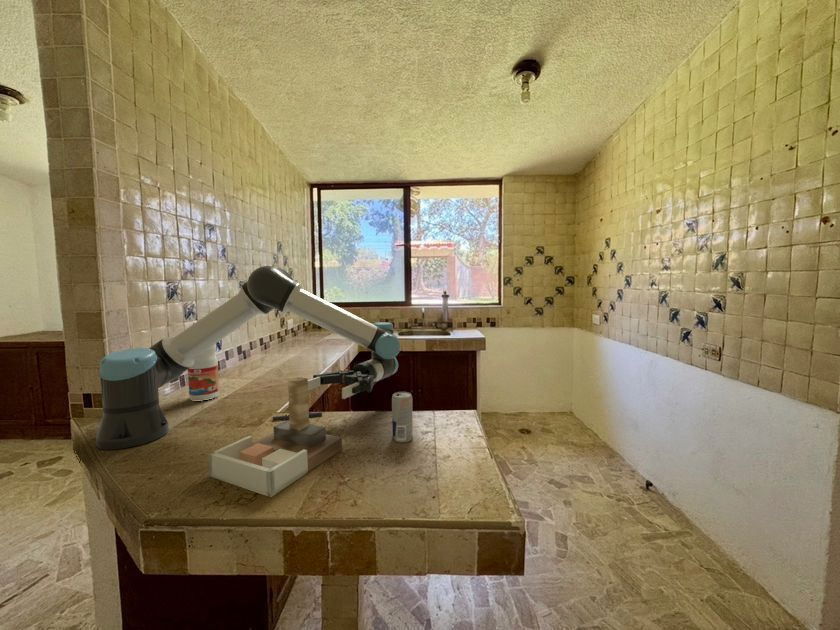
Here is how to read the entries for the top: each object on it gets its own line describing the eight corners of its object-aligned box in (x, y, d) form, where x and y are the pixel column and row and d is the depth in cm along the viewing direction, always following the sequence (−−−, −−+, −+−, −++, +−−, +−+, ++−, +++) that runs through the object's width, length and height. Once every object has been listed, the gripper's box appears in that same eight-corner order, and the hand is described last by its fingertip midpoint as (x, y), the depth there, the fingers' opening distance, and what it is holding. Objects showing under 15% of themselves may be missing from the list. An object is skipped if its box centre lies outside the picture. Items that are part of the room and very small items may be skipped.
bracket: (322, 403, 123) (321, 395, 123) (322, 418, 109) (321, 409, 108) (278, 407, 119) (278, 399, 119) (272, 423, 105) (272, 414, 105)
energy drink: (399, 432, 96) (399, 390, 95) (416, 437, 93) (416, 393, 92) (388, 440, 91) (387, 395, 90) (405, 444, 88) (404, 399, 88)
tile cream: (262, 471, 74) (261, 458, 74) (280, 461, 79) (280, 448, 78) (279, 477, 72) (279, 463, 72) (297, 465, 77) (296, 452, 76)
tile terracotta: (239, 465, 77) (238, 452, 77) (258, 455, 82) (257, 443, 81) (255, 469, 75) (254, 456, 75) (273, 459, 79) (273, 446, 79)
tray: (209, 476, 74) (208, 454, 74) (250, 456, 83) (249, 435, 83) (270, 497, 66) (269, 472, 66) (307, 472, 75) (307, 450, 75)
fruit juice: (224, 393, 133) (220, 321, 131) (211, 401, 123) (207, 323, 121) (198, 394, 132) (194, 321, 130) (183, 402, 123) (179, 324, 120)
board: (250, 456, 83) (249, 443, 83) (288, 436, 94) (287, 425, 94) (307, 472, 75) (307, 458, 75) (342, 449, 86) (341, 437, 86)
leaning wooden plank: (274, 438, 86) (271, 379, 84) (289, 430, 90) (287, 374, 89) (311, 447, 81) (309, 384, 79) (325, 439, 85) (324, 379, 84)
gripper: (400, 389, 107) (361, 411, 88) (336, 380, 117) (288, 397, 98) (400, 365, 106) (361, 382, 87) (335, 358, 117) (287, 371, 98)
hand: (322, 390), depth 93 cm, fingers open, 13 cm apart
